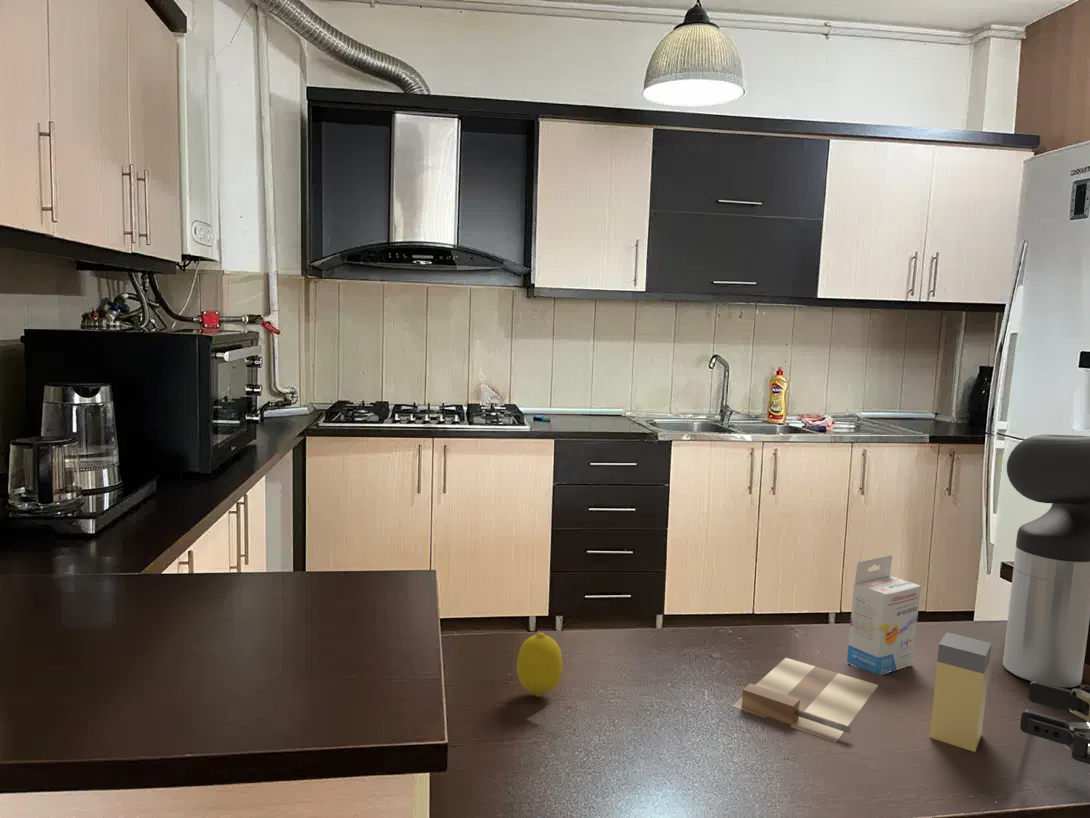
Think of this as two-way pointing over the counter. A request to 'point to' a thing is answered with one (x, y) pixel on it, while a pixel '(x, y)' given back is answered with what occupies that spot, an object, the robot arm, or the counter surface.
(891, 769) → the counter surface
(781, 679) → the plywood panel
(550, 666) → the lemon
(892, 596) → the ink box
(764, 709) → the awl
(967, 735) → the yellow block grey top
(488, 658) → the counter surface
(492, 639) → the counter surface
